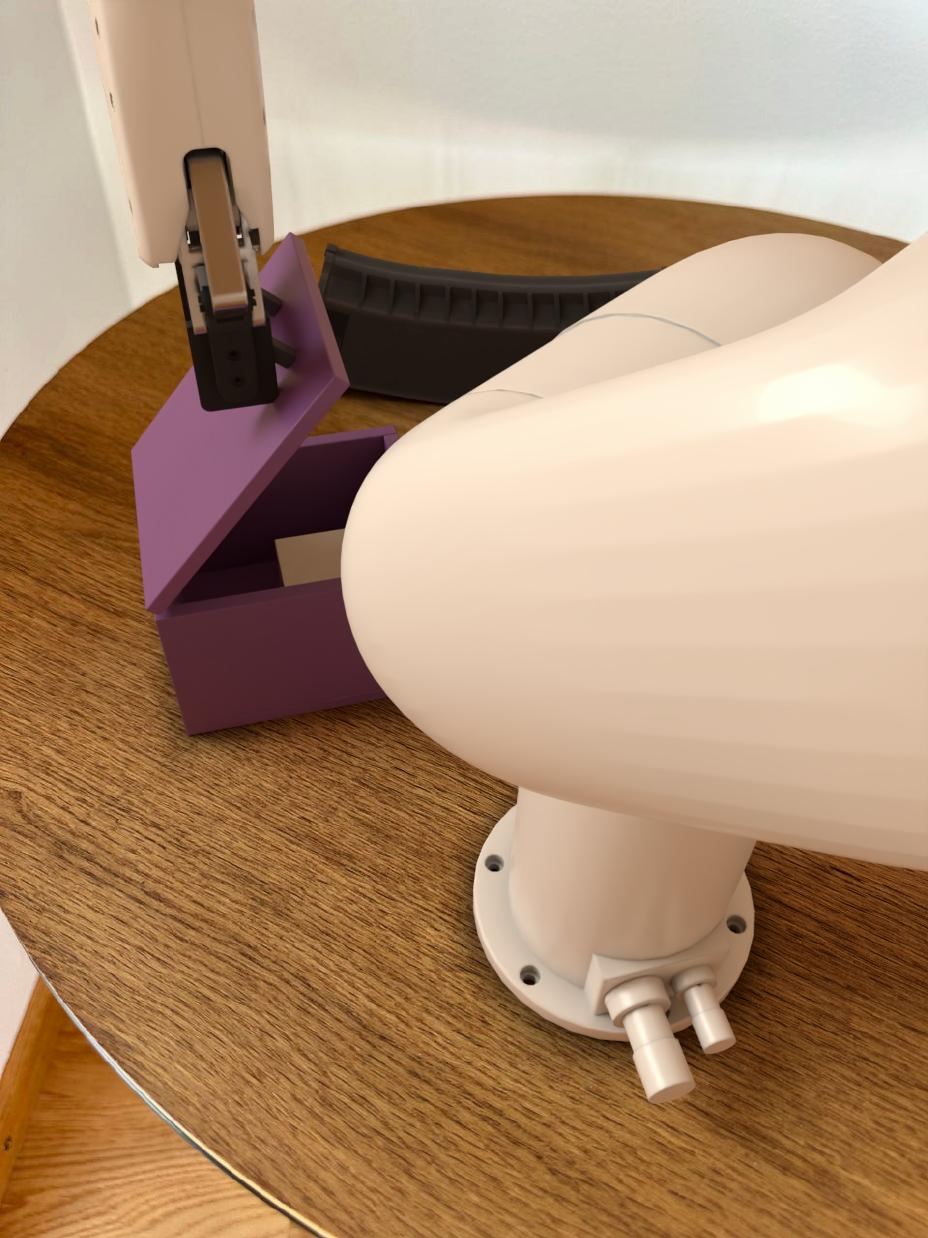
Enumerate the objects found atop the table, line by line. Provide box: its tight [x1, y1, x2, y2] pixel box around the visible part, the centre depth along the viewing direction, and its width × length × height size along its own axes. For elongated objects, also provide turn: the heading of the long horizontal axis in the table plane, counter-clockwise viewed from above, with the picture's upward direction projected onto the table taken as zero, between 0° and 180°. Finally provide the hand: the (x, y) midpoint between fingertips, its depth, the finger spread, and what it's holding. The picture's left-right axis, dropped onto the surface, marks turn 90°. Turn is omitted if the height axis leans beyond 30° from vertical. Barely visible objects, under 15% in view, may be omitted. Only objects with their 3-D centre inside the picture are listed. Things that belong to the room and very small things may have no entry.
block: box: [274, 529, 345, 587], centre depth 58 cm, size 4×4×4 cm
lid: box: [130, 231, 350, 615], centre depth 47 cm, size 14×12×5 cm
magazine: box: [317, 242, 669, 405], centre depth 71 cm, size 17×3×30 cm
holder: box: [153, 424, 401, 737], centre depth 57 cm, size 14×12×9 cm
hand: (230, 359), depth 47 cm, fingers closed on lid, 5 cm apart
